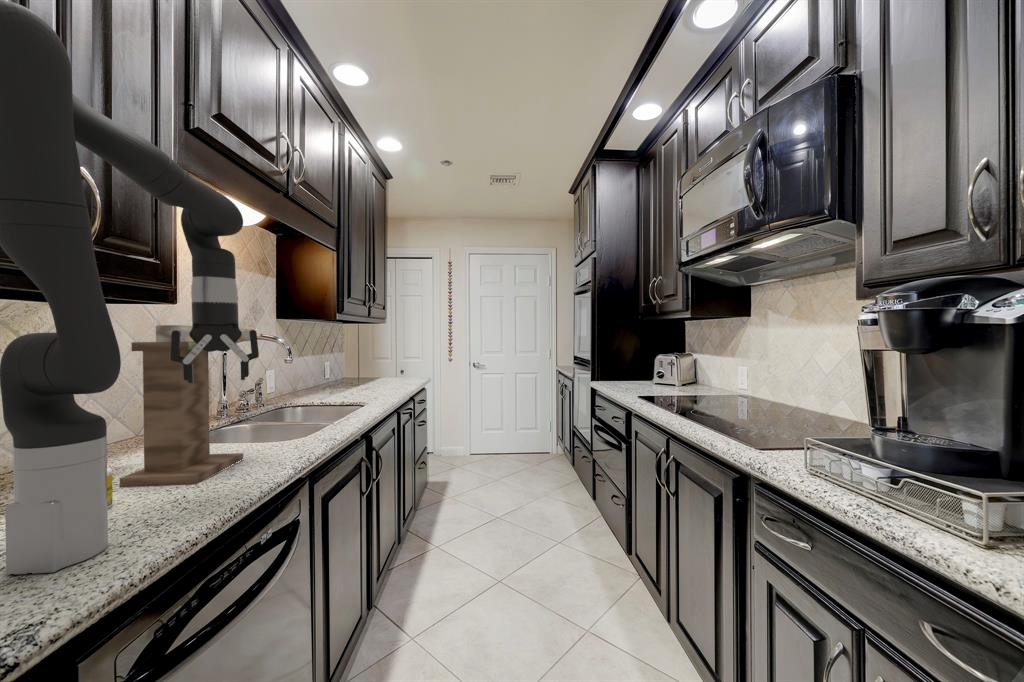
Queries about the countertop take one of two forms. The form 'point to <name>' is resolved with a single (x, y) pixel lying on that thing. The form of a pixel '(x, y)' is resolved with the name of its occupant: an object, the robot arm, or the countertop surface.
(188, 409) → the stand
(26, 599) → the countertop surface
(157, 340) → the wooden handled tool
